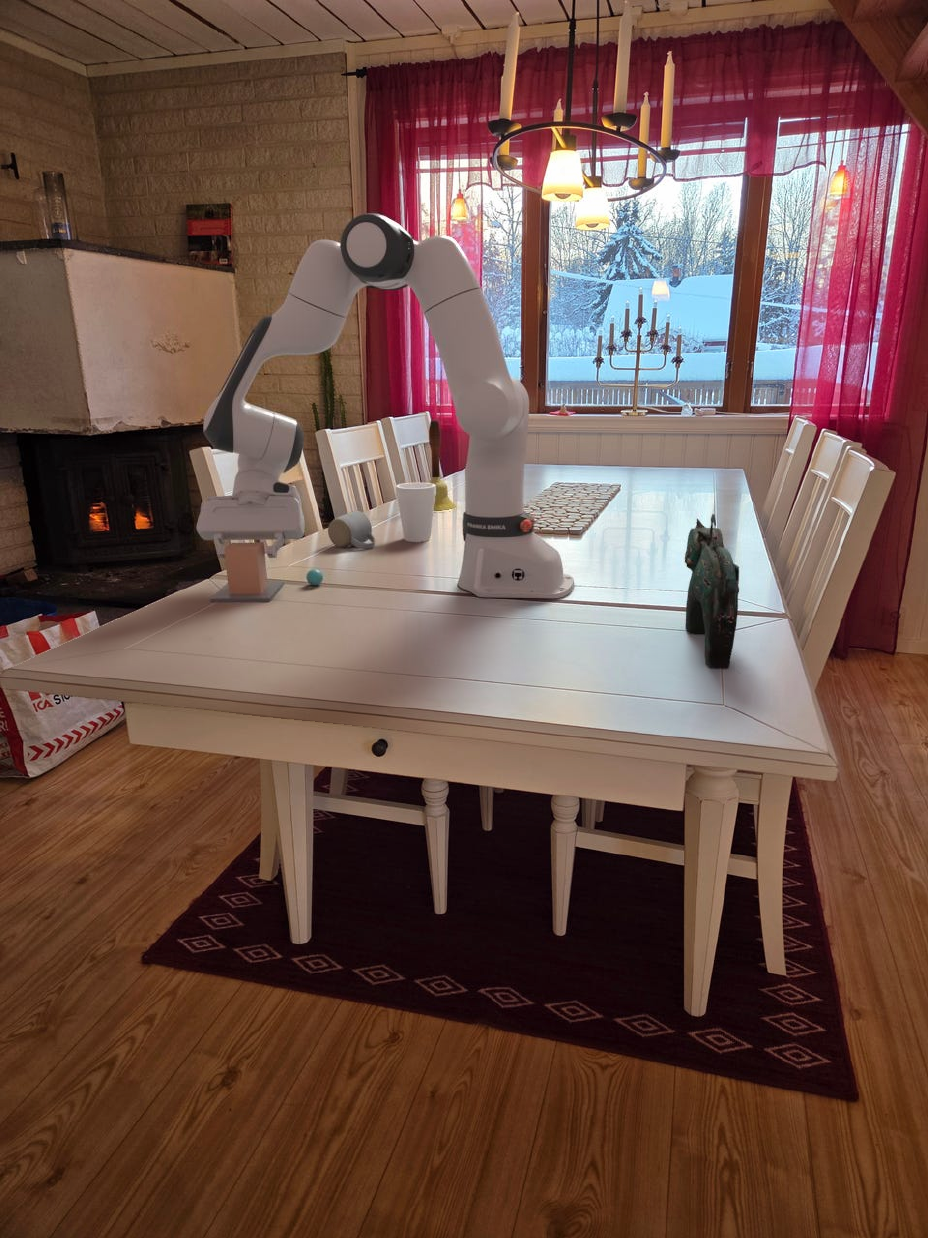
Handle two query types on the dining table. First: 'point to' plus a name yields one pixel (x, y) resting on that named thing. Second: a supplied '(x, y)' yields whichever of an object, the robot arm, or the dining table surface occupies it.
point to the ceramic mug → (351, 531)
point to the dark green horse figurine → (712, 593)
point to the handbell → (441, 488)
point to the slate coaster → (264, 596)
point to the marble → (314, 577)
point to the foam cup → (416, 510)
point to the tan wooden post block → (246, 568)
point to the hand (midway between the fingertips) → (246, 556)
